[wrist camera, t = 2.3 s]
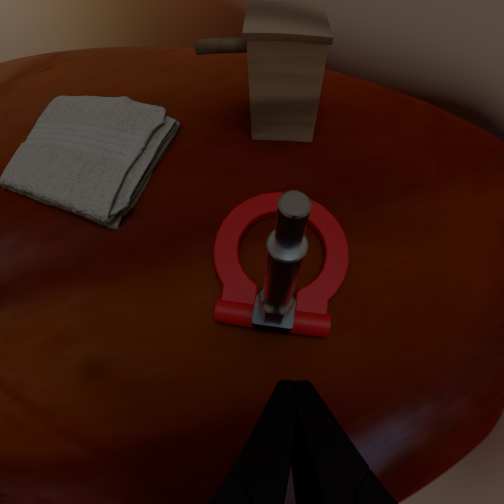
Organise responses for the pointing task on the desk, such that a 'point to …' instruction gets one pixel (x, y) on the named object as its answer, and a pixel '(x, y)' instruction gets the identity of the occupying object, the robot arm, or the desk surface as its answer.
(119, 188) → the washcloth
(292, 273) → the tow hook
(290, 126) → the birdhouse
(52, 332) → the desk surface
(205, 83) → the desk surface
